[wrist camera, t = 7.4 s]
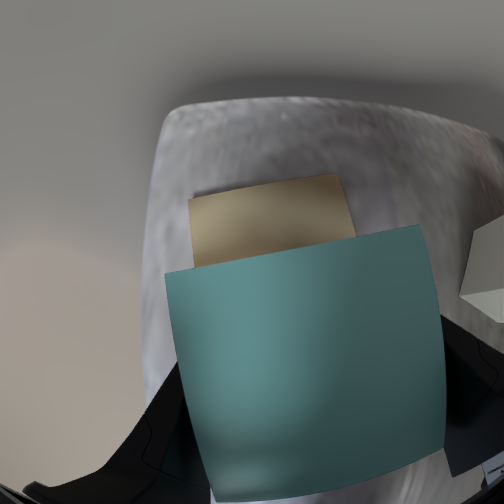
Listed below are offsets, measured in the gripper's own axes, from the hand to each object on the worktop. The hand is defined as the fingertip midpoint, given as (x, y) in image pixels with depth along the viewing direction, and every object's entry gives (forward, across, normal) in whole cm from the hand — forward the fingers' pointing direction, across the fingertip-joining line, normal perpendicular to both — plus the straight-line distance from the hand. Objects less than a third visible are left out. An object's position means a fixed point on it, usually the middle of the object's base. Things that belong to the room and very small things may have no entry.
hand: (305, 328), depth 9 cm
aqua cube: (+2, 0, +3) cm, 4 cm away
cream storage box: (+7, -21, +9) cm, 24 cm away
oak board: (+12, 0, +5) cm, 13 cm away
